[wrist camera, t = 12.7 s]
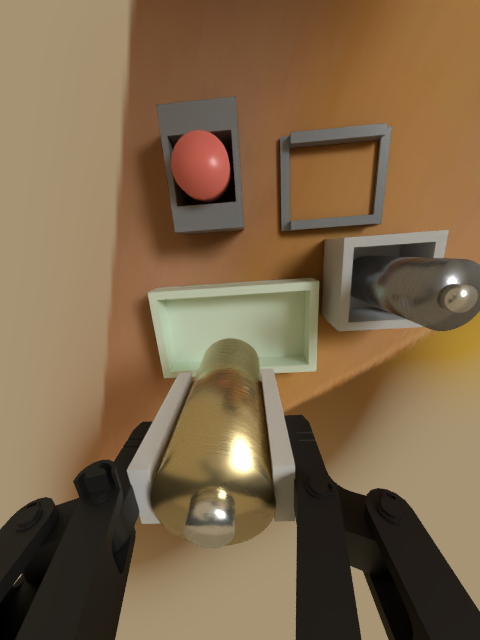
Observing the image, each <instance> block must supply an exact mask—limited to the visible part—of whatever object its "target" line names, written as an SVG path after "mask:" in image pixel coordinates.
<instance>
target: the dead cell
mask: <svg viewBox="0 0 480 640" xmlns="http://www.w3.org/2000/svg"><path fill="white" fill-rule="evenodd" d="M350 296H352V297H354V298H356V299H359V300H361V301H363V302H366V303H368V304H371V305H373V306H376V307H378V308H380V309H383V310H385V311H388V312H390V313H393V314H395V315H397V316H400V317H402V318H405V319H407V320H410V321H412V322H414V323H417V324H419V325H422V326H424V327H427V328H429V329H432V330H436V331H447V330H452V329H455V328H458V327H460V326H462V325H464V324H466V323H467V322H469V321H470V320H471V319H472V318H473V317H474V316H476V314H477V313H478V312H479V311H480V265H479V264H477V263H476V262H473V261H471V260H466V259H447V258H421V257H395V256H361V257H359V258H357V259H355V260H354V261H353V267H352V280H351V293H350Z"/></svg>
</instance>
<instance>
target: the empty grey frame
mask: <svg viewBox="0 0 480 640" xmlns="http://www.w3.org/2000/svg"><path fill="white" fill-rule="evenodd" d="M391 129H392V126H390V127H387V123H383V124H372V125H362V126H352V127H342V128H331V129H321V130H311V131H301V132H291V133H290V136H287V137H280V183H281V231H292V230H305V229H318V228H331V227H344V226H357V225H370V224H381V221H382V212H383V203H384V194H385V184H386V175H387V166H388V157H389V147H390V138H391ZM372 140H379V148H378V159H377V169H376V180H375V190H374V200H373V211H372V215H360V216H348V217H335V218H322V219H310V220H297V221H290V161H289V148H297V147H308V146H318V145H329V144H340V143H350V142H361V141H372Z"/></svg>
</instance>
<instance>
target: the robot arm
mask: <svg viewBox="0 0 480 640" xmlns="http://www.w3.org/2000/svg"><path fill="white" fill-rule="evenodd" d="M261 380H262V391H263V399H264V408H265V417H266V426H267V435H268V443H269V452H270V461H271V470H272V479H273V487H274V491H275V499H276V510H275V514H274V519H275V521H295V517H296V522H297V578H296V585H297V586H296V640H361V634H360V628H359V621H358V615H357V608H356V601H355V595H354V588H353V582H352V576H351V569H350V566H352V567H355V568H357V569H360V570H362V571H363V572H364V575H365V578H366V581H367V583H368V586H369V589H370V591H371V594H372V597H373V599H374V602H375V604H376V607H377V610H378V612H379V615H380V618H381V620H382V623H383V626H384V628H385V631H386V634H387V636H388V639H389V640H480V611H479V610H478V608H477V607H476V605H475V604H474V602H473V601H472V599H471V598H470V596H469V595H468V593H467V592H466V590H465V589H464V587H463V586H462V584H461V583H460V581H459V579H458V578H457V576H456V575H455V573H454V572H453V570H452V569H451V567H450V566H449V564H448V563H447V561H446V560H445V558H444V557H443V555H442V554H441V552H440V550H439V549H438V548H437V546H436V544H435V543H434V541H433V540H432V538H431V537H430V535H429V534H428V532H427V531H426V529H425V528H424V526H423V525H422V523H421V521H420V520H419V518H418V517H417V515H416V514H415V512H414V511H413V509H412V508H411V507H410V506H409V504H408V503H407V502H406V501H405V500H404V499H402V498H401V497H400V496H399V495H397V494H396V493H394V492H391V491H389V490H387V489H380V488H377V489H373V490H371V491H370V492H369V493H368V494H367V496H365V495H361V494H357V493H354V492H351V491H348V490H346V489H344V488H342V487H340V486H339V485H337V484H336V483H335V482H334V481H333V480H332V479H331V477H330V476H329V475H328V473H327V471H326V468H325V465H324V462H323V460H322V457H321V454H320V452H319V449H318V446H317V443H316V441H315V438H314V435H313V433H312V429H311V427H310V424H309V422H308V421H307V420H306V419H305V418H304V417H303V415H288V416H284V414H283V409H282V405H281V400H280V396H279V391H278V387H277V383H276V378H275V374H274V369H273V368H269V369H261ZM192 384H193V381H192V375H191V372H188V373H179V374H178V376H177V378H176V380H175V382H174V383H173V385H172V387H171V389H170V391H169V393H168V395H167V396H166V398H165V400H164V402H163V404H162V406H161V408H160V409H159V411H158V413H157V415H156V417H155V419H154V421H153V422H142V423H141V424H140V425H139V426H137V427H136V428H135V429H134V430H133V432H132V434H131V435H130V437H129V438H128V441H127V442H126V443H125V445H124V446H123V448H122V450H121V451H120V453H119V454H118V456H117V458H116V459H115V461H114V462H113V461H110V460H100V461H98V462H95V463H93V464H91V465H89V466H87V467H86V468H85V469H83V470H82V471H81V472H80V473H79V474H78V475H77V477H76V478H75V480H74V481H73V482H74V484H75V487H76V489H77V492H78V495H79V498H77V499H74V500H71V501H68V502H65V503H62V504H59V505H56V506H55V504H54V502H53V500H52V499H51V498H47V497H45V498H40V499H37V500H35V501H32V502H30V503H28V504H27V505H26V506H24V507H23V508H21V509H20V510H19V511H17V512H16V513H15V514H14V515H13V516H12V517H11V518H10V519H9V520H8V521H7V523H6V524H5V525H4V526H3V527H2V528H1V529H0V640H115V637H116V632H117V627H118V622H119V616H120V612H121V607H122V602H123V597H124V592H125V587H126V582H127V577H128V573H129V567H130V563H131V558H132V553H133V548H134V543H135V533H136V531H135V528H134V525H135V523H136V520H137V518H138V515H140V518H141V522H142V524H158V523H160V522H159V520H158V519H157V518H156V516H155V514H154V512H153V510H152V507H151V502H150V493H151V488H152V485H153V483H154V480H155V478H156V475H157V473H158V470H159V468H160V465H161V463H162V460H163V458H164V455H165V453H166V450H167V447H168V445H169V442H170V440H171V437H172V435H173V432H174V430H175V427H176V425H177V422H178V420H179V417H180V415H181V412H182V410H183V407H184V404H185V402H186V399H187V397H188V394H189V392H190V389H191V387H192ZM20 574H22V575H21V577H20V578H19V579H18V577H19V576H20ZM17 579H18V580H17ZM16 580H17V582H16V583H15V581H16ZM14 583H15V584H14ZM13 584H14V585H13Z"/></svg>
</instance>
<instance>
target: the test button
mask: <svg viewBox="0 0 480 640" xmlns="http://www.w3.org/2000/svg"><path fill="white" fill-rule="evenodd" d="M171 168H172V172H173V176H174V178H175V180H176V182H177V184H178V185H179V186H180V187H181V189H182V190H184V191H185V192H186V193H187V194H188V195H189V196H190V197H192V198H193V199H195V200H197V201H200V202H211V201H214V200H216V199H218V198H220V197H221V196H222V195H223V194H224V193H225V191H226V190H227V188H228V185H229V183H230V177H231V169H230V163H229V159H228V154H227V152H226V149H225V147H224V145H223V144H222V142H221V141H220V140H219V139H218V138H217V137H216V136H215V135H213V134H212V133H210V132H207V131H204V130H194V131H190V132H188V133H186V134H185V135H183V136H182V137H181V138H180V139H179V140H178V142H177V143H176V145H175V147H174V149H173V152H172V157H171Z"/></svg>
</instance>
